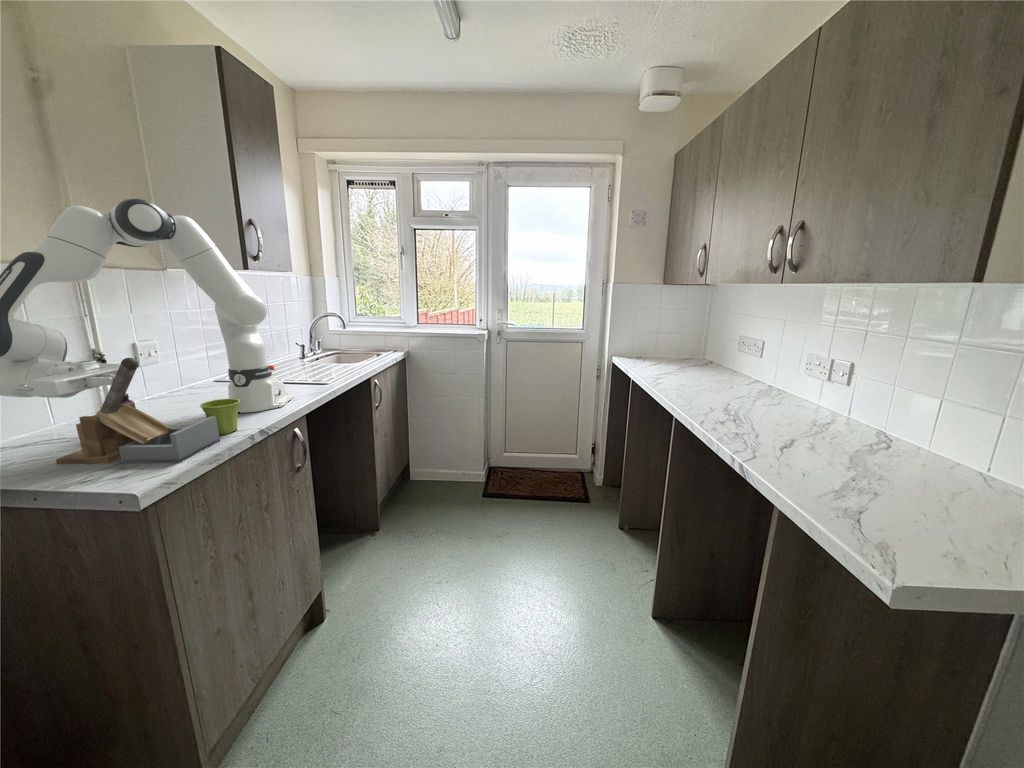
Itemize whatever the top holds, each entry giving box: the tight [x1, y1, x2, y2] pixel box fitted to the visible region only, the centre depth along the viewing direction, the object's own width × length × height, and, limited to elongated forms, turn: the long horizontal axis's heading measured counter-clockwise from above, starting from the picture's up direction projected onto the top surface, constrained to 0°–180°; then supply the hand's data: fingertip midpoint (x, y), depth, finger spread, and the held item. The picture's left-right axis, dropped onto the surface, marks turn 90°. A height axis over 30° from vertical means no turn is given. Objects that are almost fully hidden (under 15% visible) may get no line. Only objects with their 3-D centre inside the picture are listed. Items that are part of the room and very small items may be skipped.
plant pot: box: [199, 398, 240, 435], centre depth 118 cm, size 9×9×9 cm
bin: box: [119, 416, 221, 464], centre depth 104 cm, size 14×14×7 cm
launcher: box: [93, 357, 172, 444], centre depth 102 cm, size 9×14×17 cm
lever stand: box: [55, 404, 136, 465], centre depth 103 cm, size 14×12×11 cm
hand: (116, 380), depth 100 cm, fingers closed, pressing on launcher
